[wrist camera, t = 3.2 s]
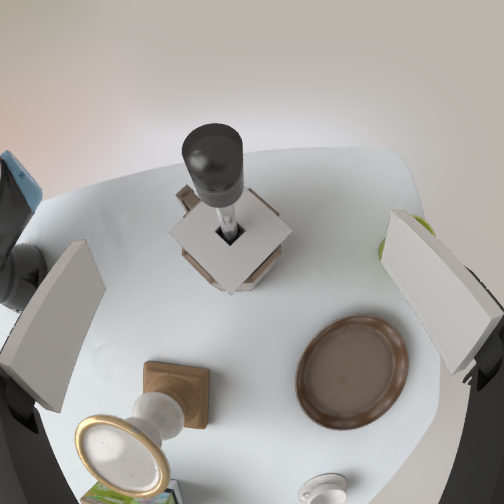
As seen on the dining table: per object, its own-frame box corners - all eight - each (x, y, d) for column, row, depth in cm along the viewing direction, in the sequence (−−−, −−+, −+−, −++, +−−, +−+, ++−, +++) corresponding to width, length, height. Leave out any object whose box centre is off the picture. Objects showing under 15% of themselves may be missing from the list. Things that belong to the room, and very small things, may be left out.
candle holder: (146, 359, 41) (63, 398, 17) (209, 368, 41) (171, 429, 18) (147, 415, 39) (80, 481, 15) (207, 426, 39) (177, 512, 15)
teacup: (353, 472, 37) (361, 484, 32) (334, 505, 35) (340, 516, 30) (307, 471, 37) (312, 484, 32) (290, 504, 35) (293, 517, 30)
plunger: (186, 244, 35) (108, 157, 13) (232, 199, 36) (217, 73, 14) (233, 291, 34) (208, 262, 12) (280, 242, 35) (326, 147, 13)
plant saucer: (283, 424, 39) (286, 432, 36) (300, 309, 43) (304, 309, 40) (388, 419, 39) (395, 425, 36) (406, 316, 43) (415, 316, 40)
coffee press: (174, 244, 45) (141, 213, 29) (221, 198, 47) (210, 149, 31) (236, 306, 43) (230, 305, 28) (284, 256, 45) (303, 229, 29)
